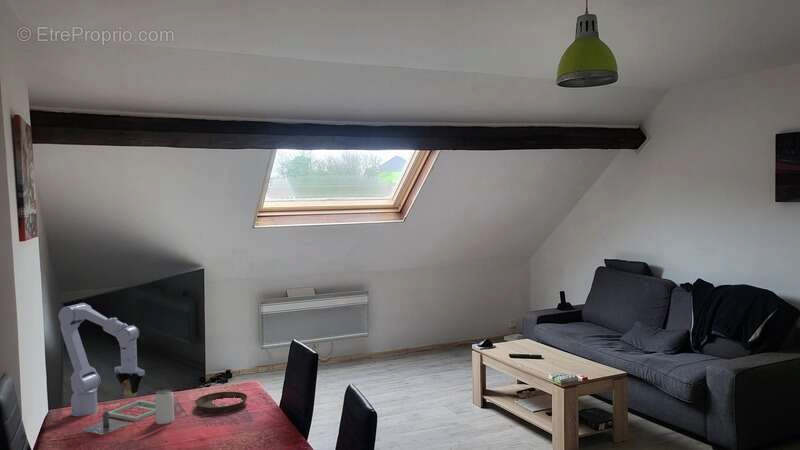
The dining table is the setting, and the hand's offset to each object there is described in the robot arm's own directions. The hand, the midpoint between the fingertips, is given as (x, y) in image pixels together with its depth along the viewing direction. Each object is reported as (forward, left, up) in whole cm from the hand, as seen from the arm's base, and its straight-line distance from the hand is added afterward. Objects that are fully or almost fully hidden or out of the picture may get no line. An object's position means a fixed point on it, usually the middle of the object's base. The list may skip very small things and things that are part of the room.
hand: (130, 391), depth 233 cm
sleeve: (0, 0, -2) cm, 2 cm away
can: (+18, +1, -10) cm, 20 cm away
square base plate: (+1, -12, -10) cm, 16 cm away
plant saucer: (+24, +24, -10) cm, 36 cm away
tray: (-1, +4, -10) cm, 11 cm away
